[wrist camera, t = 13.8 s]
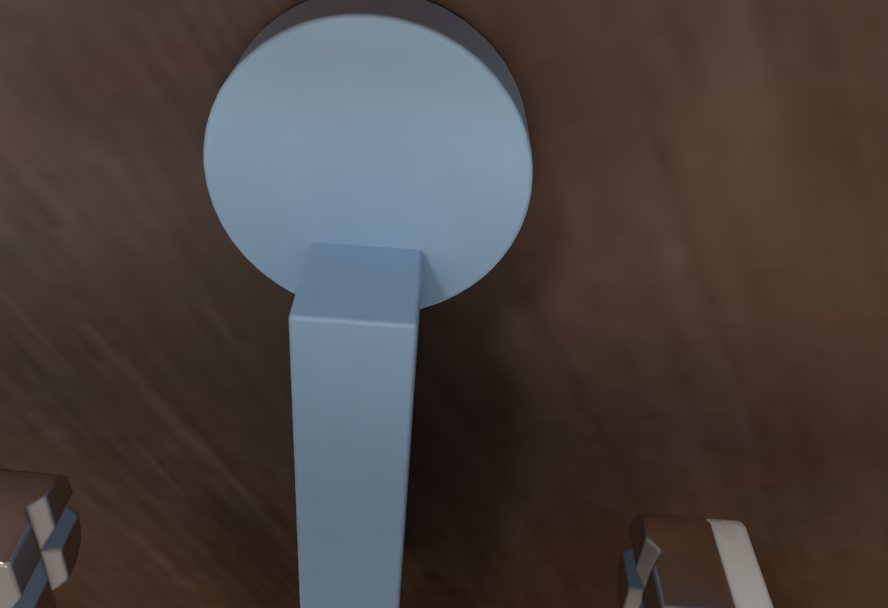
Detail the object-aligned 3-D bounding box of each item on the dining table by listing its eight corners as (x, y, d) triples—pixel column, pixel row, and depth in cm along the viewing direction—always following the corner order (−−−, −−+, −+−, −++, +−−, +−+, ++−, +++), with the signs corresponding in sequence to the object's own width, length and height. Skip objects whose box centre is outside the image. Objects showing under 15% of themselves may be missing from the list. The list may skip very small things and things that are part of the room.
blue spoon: (471, 557, 18) (472, 695, 15) (257, 544, 17) (222, 680, 15) (547, 1, 11) (571, 82, 9) (210, -26, 11) (137, 48, 9)
